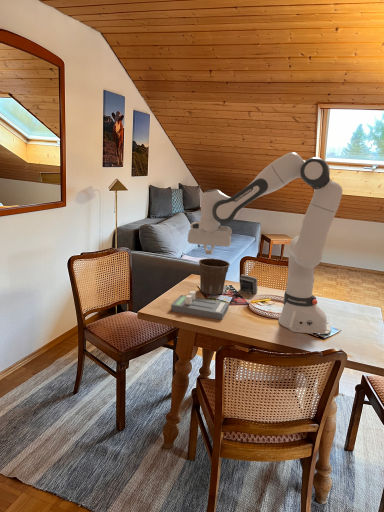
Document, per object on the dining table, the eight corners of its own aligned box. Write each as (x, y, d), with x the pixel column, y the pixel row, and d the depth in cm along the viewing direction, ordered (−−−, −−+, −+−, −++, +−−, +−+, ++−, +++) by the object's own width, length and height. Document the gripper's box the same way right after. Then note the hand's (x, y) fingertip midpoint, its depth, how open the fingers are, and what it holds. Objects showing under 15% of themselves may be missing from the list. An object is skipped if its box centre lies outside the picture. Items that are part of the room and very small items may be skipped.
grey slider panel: (228, 308, 187) (228, 302, 186) (221, 319, 174) (222, 313, 173) (180, 300, 193) (180, 294, 192) (170, 310, 180) (171, 304, 179)
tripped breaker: (195, 298, 188) (195, 291, 187) (193, 300, 185) (194, 293, 184) (190, 297, 188) (190, 290, 187) (188, 299, 186) (189, 292, 185)
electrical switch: (257, 292, 212) (258, 276, 208) (253, 296, 207) (254, 279, 204) (241, 288, 216) (242, 273, 213) (237, 292, 212) (238, 276, 209)
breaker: (191, 302, 182) (192, 295, 181) (190, 304, 180) (190, 297, 179) (186, 302, 183) (187, 294, 182) (185, 303, 180) (185, 296, 179)
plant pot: (224, 287, 217) (227, 258, 213) (229, 297, 202) (232, 267, 198) (195, 285, 216) (197, 257, 212) (197, 296, 201) (199, 266, 196)
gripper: (233, 225, 181) (231, 254, 184) (190, 222, 186) (190, 250, 190) (230, 227, 175) (229, 257, 178) (186, 224, 180) (186, 253, 184)
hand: (208, 254), depth 184 cm, fingers closed
